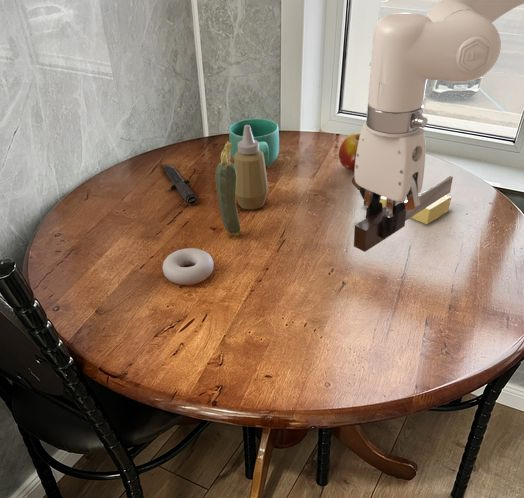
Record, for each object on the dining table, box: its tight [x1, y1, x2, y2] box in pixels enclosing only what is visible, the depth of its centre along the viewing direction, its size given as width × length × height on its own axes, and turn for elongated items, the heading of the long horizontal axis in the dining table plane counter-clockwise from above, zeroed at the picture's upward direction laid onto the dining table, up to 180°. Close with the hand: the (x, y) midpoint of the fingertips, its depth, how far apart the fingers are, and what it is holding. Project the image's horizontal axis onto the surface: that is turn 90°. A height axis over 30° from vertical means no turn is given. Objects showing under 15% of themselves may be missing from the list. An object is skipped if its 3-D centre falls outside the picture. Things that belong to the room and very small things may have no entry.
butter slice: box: [380, 196, 387, 208], centre depth 120 cm, size 4×3×4 cm, turn 42°
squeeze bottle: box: [233, 125, 269, 211], centre depth 119 cm, size 8×8×18 cm
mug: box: [228, 118, 280, 167], centre depth 137 cm, size 17×13×10 cm
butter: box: [410, 194, 452, 225], centre depth 118 cm, size 4×8×4 cm, turn 132°
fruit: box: [338, 132, 361, 171], centre depth 135 cm, size 10×9×8 cm
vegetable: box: [214, 140, 242, 237], centre depth 109 cm, size 4×4×20 cm
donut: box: [161, 247, 215, 286], centre depth 105 cm, size 10×4×10 cm
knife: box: [163, 165, 198, 206], centre depth 134 cm, size 24×5×3 cm, turn 17°
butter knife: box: [353, 175, 454, 253], centre depth 91 cm, size 2×24×4 cm, turn 131°
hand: (380, 230), depth 89 cm, fingers closed on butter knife, 2 cm apart
